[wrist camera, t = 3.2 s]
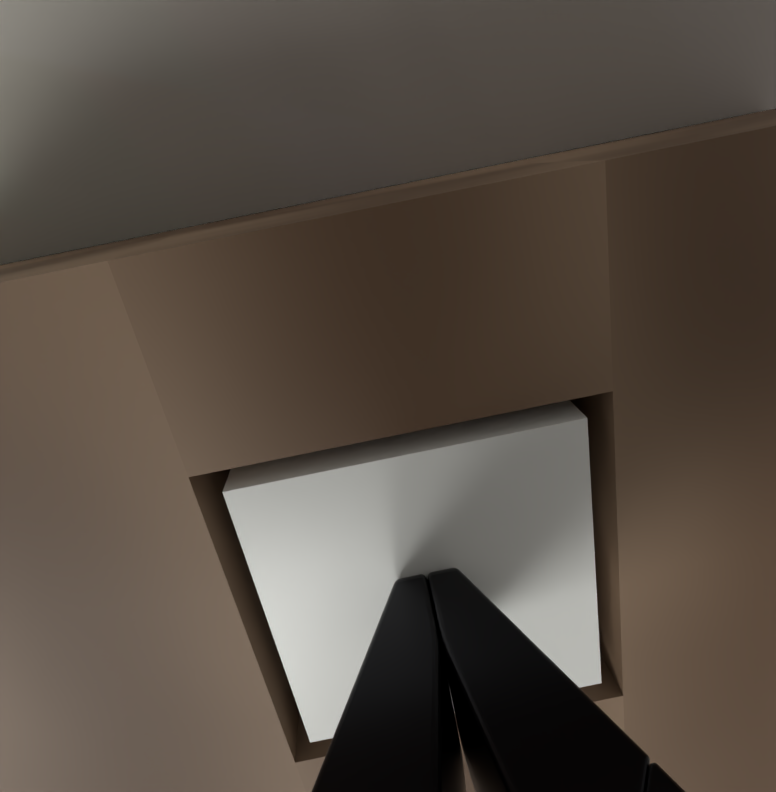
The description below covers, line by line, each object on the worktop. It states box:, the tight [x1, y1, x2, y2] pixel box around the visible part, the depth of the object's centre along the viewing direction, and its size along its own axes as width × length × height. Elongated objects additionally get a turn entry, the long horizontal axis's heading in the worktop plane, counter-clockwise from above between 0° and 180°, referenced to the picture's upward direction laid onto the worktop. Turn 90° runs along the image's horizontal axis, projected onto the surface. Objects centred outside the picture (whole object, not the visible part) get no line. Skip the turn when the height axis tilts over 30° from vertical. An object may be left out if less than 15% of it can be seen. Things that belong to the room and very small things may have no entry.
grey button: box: [222, 400, 602, 743], centre depth 9 cm, size 4×4×4 cm
